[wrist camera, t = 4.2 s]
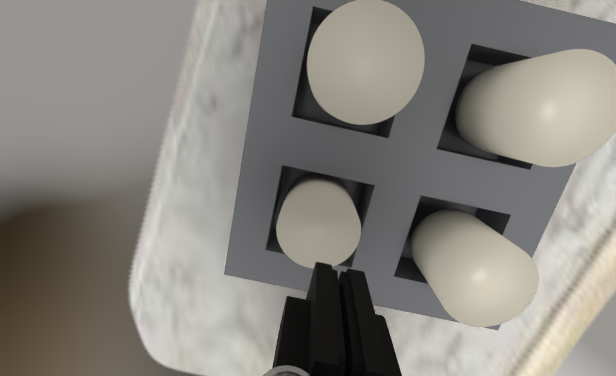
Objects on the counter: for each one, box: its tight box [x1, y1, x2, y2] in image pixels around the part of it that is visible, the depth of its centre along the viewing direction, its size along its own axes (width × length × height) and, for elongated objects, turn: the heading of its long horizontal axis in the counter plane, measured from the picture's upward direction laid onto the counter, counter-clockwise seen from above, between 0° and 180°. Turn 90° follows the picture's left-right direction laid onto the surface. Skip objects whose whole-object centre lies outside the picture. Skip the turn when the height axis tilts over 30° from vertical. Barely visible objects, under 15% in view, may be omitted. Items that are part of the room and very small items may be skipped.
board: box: [224, 0, 616, 330], centre depth 20 cm, size 20×20×4 cm
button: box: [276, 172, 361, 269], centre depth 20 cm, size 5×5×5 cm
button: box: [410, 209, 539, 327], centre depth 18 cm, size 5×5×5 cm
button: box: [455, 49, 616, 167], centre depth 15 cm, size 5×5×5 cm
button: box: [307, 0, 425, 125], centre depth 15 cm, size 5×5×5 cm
